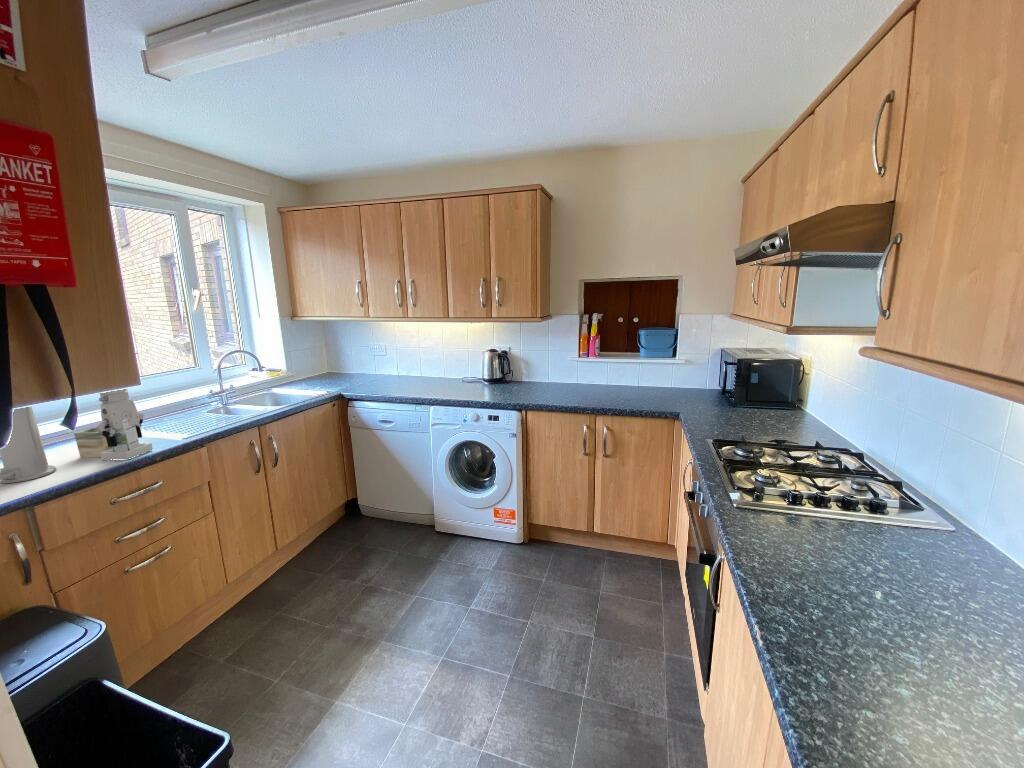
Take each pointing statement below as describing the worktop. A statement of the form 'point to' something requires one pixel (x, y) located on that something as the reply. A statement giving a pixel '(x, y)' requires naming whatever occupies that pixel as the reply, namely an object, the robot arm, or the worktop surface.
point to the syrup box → (126, 437)
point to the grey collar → (126, 455)
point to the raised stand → (91, 443)
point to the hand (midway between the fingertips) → (125, 441)
